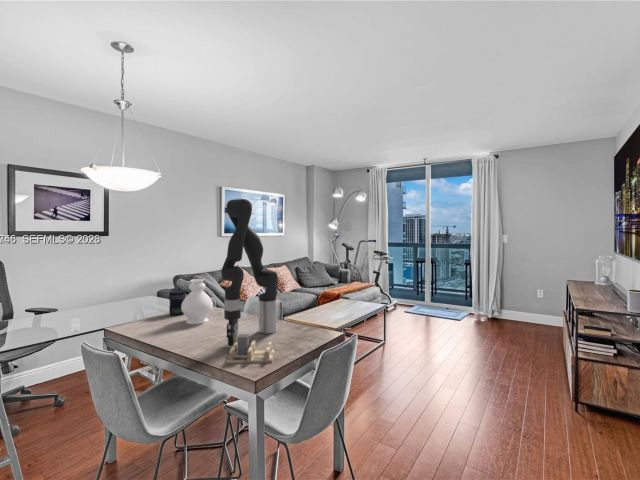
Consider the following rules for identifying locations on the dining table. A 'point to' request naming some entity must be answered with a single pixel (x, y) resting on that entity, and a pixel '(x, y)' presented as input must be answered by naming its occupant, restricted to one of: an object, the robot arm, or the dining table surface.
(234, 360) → the slot rack
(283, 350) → the dining table surface
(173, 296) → the storage jar
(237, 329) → the sage plug
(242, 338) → the charcoal plug
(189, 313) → the decorative vase
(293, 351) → the dining table surface
